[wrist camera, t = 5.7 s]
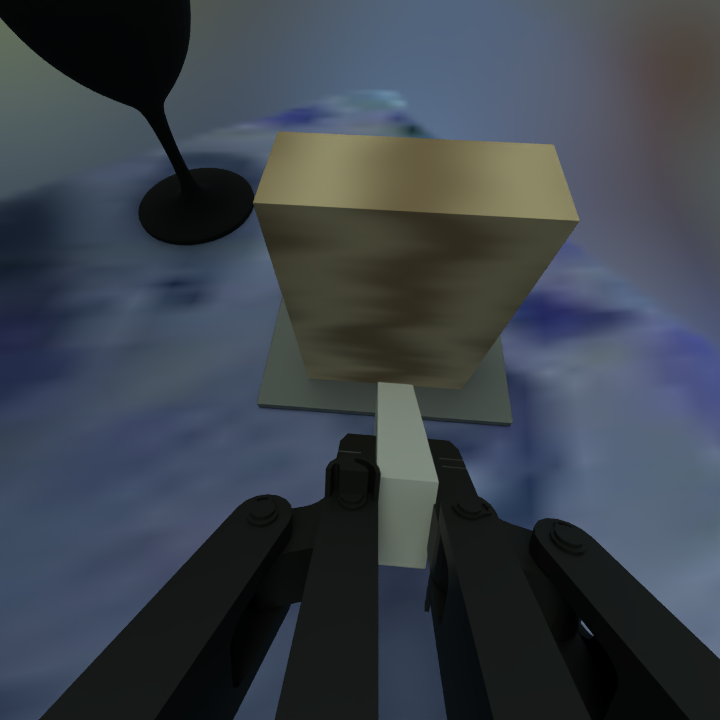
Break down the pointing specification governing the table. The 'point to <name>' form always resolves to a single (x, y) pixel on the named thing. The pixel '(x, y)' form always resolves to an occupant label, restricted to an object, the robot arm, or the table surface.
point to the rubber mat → (296, 391)
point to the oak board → (407, 248)
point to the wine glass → (137, 96)
